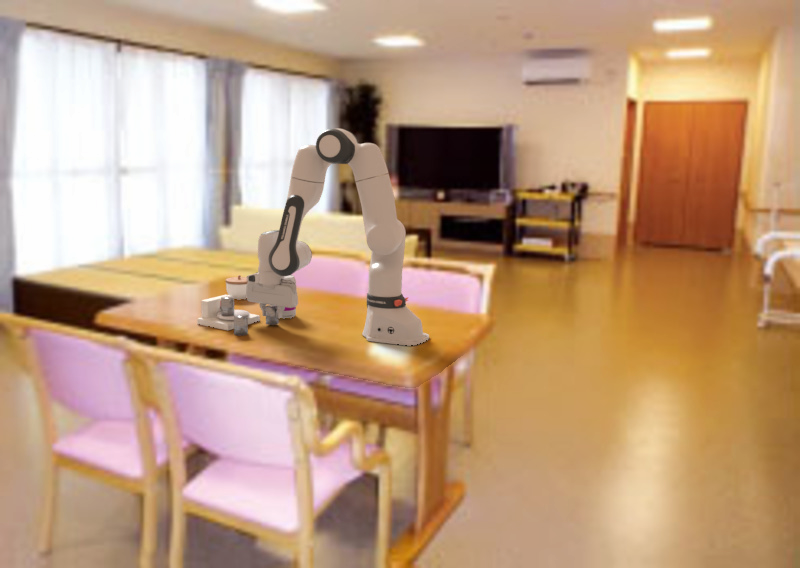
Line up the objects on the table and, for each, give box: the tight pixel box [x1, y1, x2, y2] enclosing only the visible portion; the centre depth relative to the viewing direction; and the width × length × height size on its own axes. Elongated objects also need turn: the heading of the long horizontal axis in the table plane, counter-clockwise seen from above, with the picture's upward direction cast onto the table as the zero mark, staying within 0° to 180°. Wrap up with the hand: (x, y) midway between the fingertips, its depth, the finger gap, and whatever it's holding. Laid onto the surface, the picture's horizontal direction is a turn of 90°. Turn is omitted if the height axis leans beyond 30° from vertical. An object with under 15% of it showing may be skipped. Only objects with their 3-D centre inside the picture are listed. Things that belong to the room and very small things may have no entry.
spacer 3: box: [265, 304, 280, 326], centre depth 241 cm, size 4×4×6 cm
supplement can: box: [282, 274, 297, 320], centre depth 253 cm, size 8×8×15 cm
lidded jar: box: [225, 274, 248, 301], centre depth 280 cm, size 11×11×9 cm
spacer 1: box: [221, 296, 235, 316], centre depth 239 cm, size 4×4×6 cm
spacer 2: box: [233, 315, 249, 337], centre depth 229 cm, size 4×4×6 cm
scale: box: [196, 294, 261, 331], centre depth 242 cm, size 14×16×8 cm
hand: (272, 317), depth 241 cm, fingers closed on spacer 3, 4 cm apart
